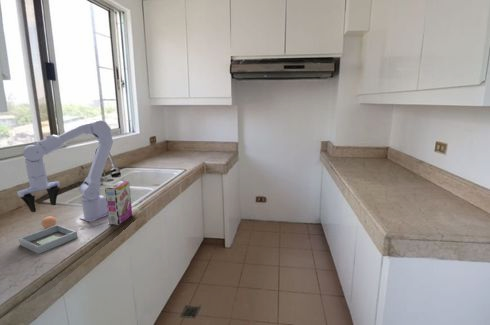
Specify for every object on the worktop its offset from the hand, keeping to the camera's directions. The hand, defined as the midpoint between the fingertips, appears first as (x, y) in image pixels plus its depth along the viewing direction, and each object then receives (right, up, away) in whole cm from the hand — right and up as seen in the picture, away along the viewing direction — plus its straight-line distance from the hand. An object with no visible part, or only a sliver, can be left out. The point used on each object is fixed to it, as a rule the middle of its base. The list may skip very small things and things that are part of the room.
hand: (43, 208), depth 108 cm
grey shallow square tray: (+8, -11, -7) cm, 16 cm away
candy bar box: (+27, -7, +10) cm, 30 cm away
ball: (0, -9, +3) cm, 9 cm away
